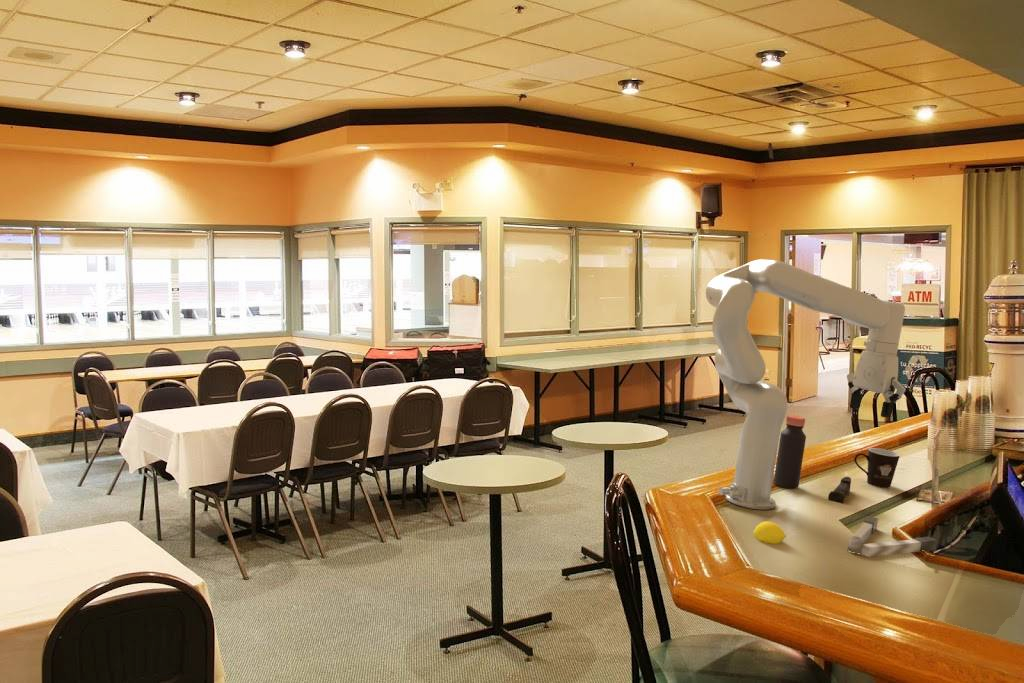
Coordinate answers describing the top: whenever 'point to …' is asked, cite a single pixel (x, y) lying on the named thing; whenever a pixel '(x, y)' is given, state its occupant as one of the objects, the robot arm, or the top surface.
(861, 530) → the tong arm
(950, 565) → the top surface
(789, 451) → the bottle
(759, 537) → the lemon
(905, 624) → the top surface
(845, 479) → the hand tool
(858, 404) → the robot arm
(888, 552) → the tongs board
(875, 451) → the coffee mug
